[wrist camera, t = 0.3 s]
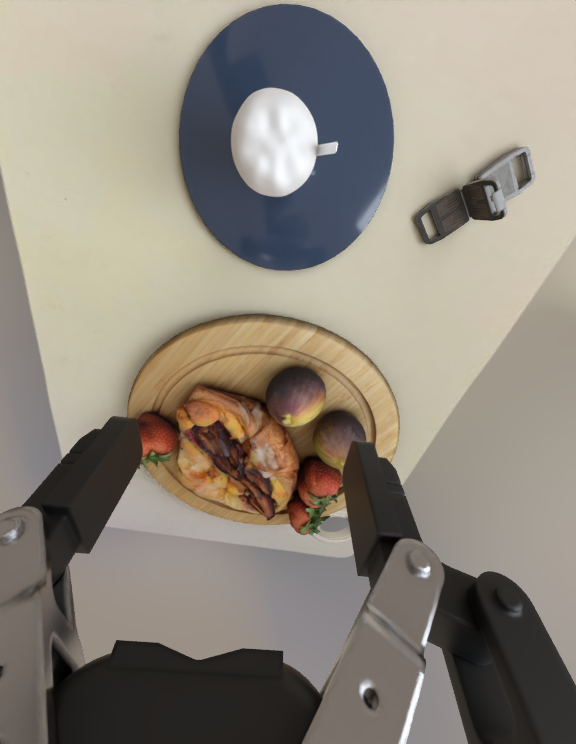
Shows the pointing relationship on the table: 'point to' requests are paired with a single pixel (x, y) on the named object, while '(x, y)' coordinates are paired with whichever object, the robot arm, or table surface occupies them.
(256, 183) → the milkshake
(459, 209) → the strap clip
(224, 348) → the wooden plate
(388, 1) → the table surface
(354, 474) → the robot arm
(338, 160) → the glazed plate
